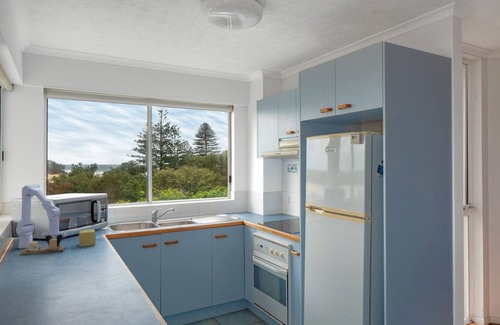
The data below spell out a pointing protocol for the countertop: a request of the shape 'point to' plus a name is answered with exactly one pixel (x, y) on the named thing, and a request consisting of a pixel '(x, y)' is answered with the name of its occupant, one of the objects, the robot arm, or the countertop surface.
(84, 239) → the cheese
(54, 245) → the terracotta block
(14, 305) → the countertop surface
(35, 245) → the maple block
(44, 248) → the puzzle board
